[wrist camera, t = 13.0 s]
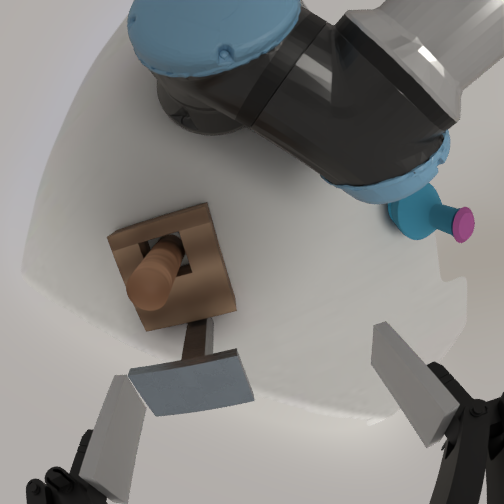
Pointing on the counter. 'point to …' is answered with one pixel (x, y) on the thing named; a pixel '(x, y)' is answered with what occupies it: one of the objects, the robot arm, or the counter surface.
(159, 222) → the socket board
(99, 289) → the counter surface
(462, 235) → the perfume bottle
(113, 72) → the counter surface
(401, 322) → the counter surface
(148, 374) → the grey t-shaped block
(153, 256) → the peg
